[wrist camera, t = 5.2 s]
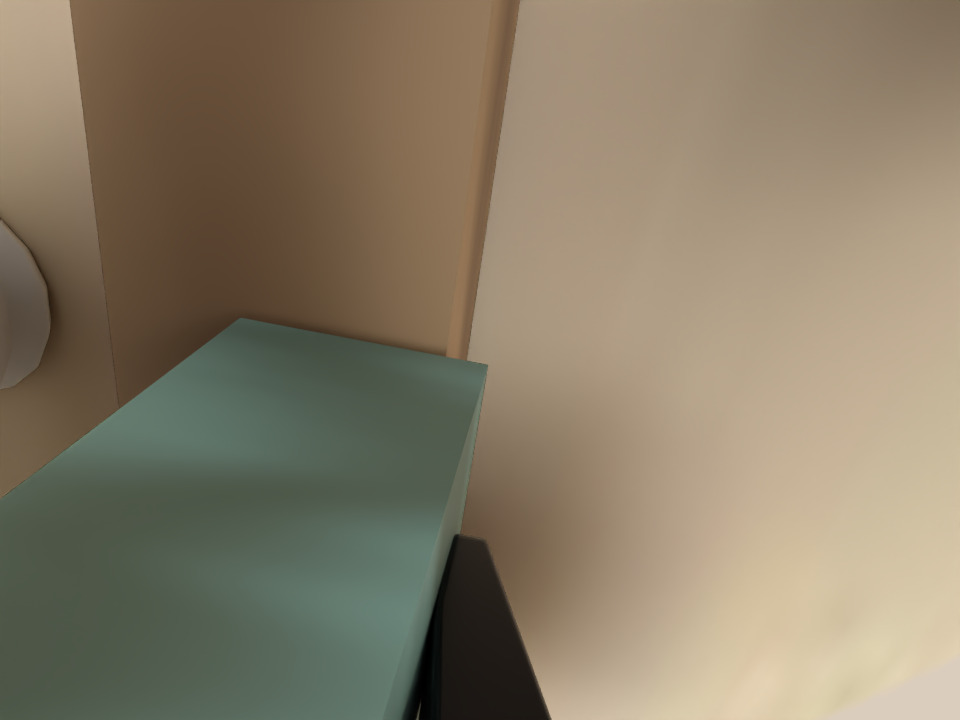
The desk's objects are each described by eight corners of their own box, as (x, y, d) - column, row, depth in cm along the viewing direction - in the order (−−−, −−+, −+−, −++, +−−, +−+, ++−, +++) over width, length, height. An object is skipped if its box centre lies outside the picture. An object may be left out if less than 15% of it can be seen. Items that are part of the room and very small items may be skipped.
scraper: (570, -46, 9) (494, -1037, 1) (449, 648, 15) (300, 1328, 7) (202, -100, 9) (-2291, -1173, 1) (230, 599, 15) (-155, 1193, 7)
